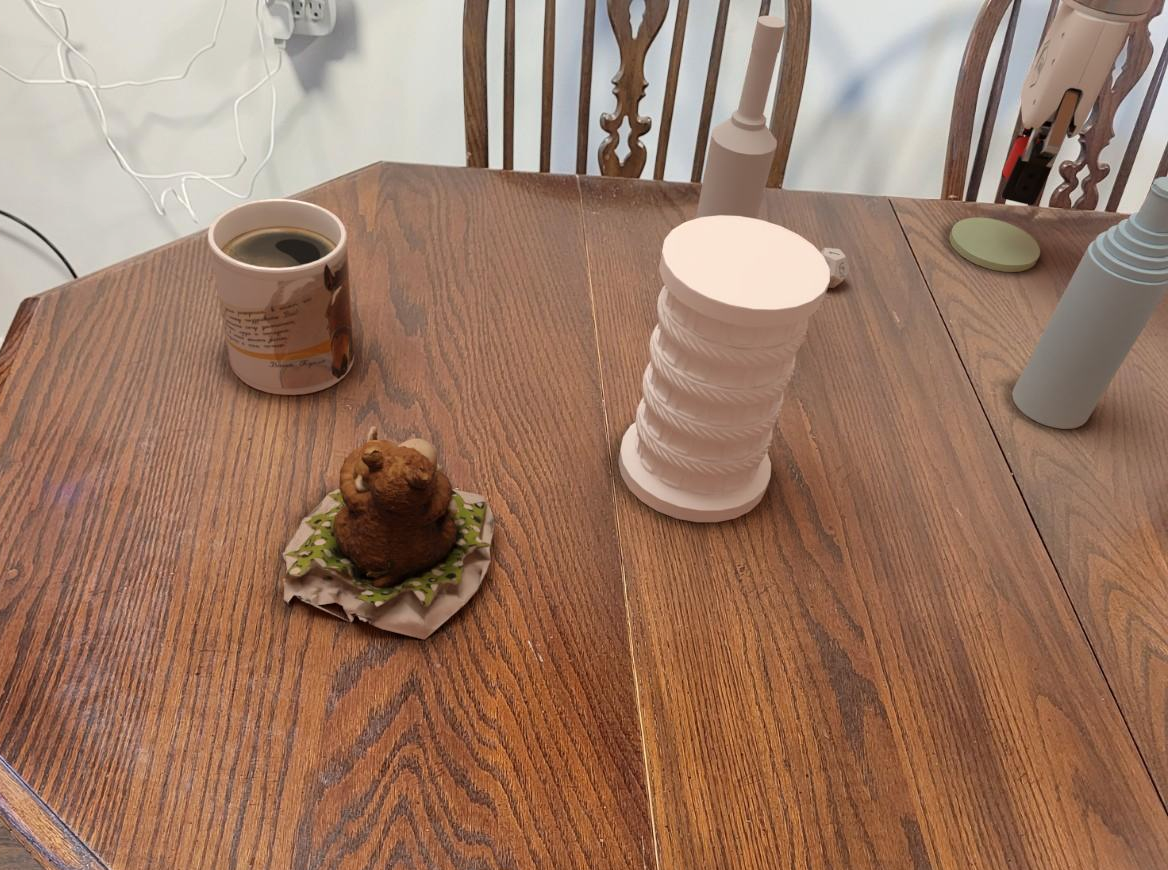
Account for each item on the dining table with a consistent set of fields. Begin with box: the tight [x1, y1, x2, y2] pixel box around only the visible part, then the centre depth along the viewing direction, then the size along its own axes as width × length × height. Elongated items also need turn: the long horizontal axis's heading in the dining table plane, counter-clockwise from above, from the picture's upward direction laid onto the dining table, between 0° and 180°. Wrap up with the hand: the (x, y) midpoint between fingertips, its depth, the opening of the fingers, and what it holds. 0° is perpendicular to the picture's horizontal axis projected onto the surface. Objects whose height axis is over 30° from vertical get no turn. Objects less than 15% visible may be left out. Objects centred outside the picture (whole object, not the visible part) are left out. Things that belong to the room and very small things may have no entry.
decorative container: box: [617, 215, 830, 523], centre depth 73 cm, size 12×12×18 cm
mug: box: [207, 198, 355, 396], centre depth 81 cm, size 10×12×11 cm
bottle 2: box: [1011, 176, 1168, 430], centre depth 83 cm, size 7×7×20 cm
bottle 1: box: [695, 15, 786, 219], centre depth 84 cm, size 5×5×25 cm
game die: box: [819, 247, 851, 289], centre depth 98 cm, size 4×4×3 cm
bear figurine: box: [282, 425, 496, 640], centre depth 67 cm, size 14×15×12 cm
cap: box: [1001, 136, 1044, 180], centre depth 100 cm, size 4×4×3 cm
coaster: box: [948, 217, 1041, 273], centre depth 107 cm, size 9×9×1 cm
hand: (1017, 187), depth 102 cm, fingers closed on cap, 3 cm apart
